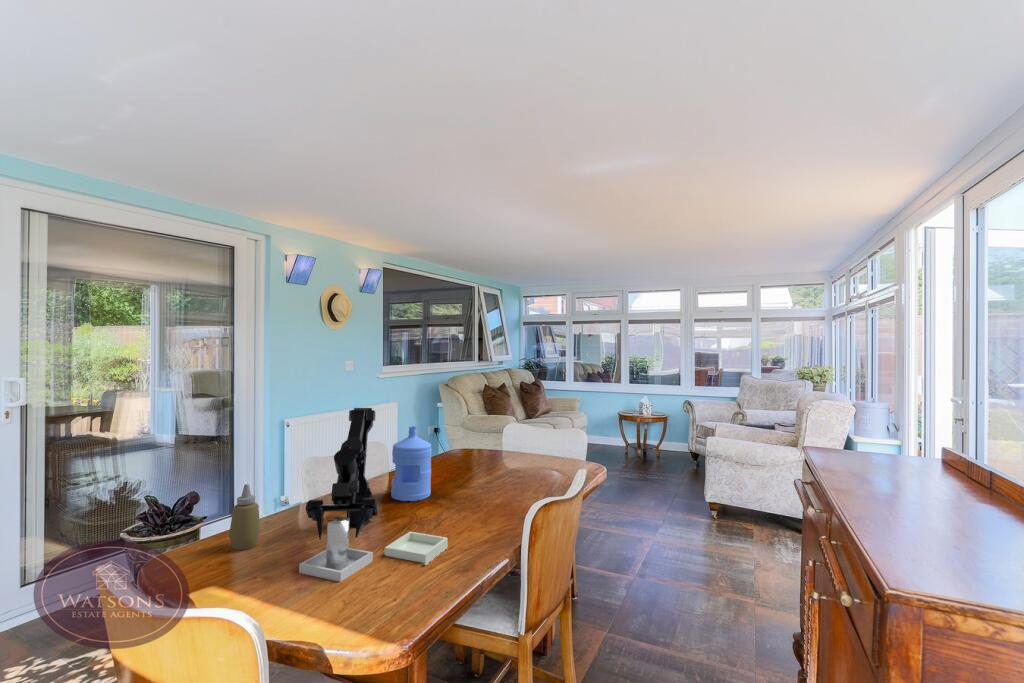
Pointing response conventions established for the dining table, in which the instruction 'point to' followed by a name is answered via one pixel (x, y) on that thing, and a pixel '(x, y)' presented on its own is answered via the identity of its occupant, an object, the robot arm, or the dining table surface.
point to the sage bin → (417, 547)
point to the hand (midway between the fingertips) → (338, 537)
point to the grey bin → (318, 569)
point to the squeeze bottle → (245, 521)
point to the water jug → (411, 468)
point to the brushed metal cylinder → (337, 543)
